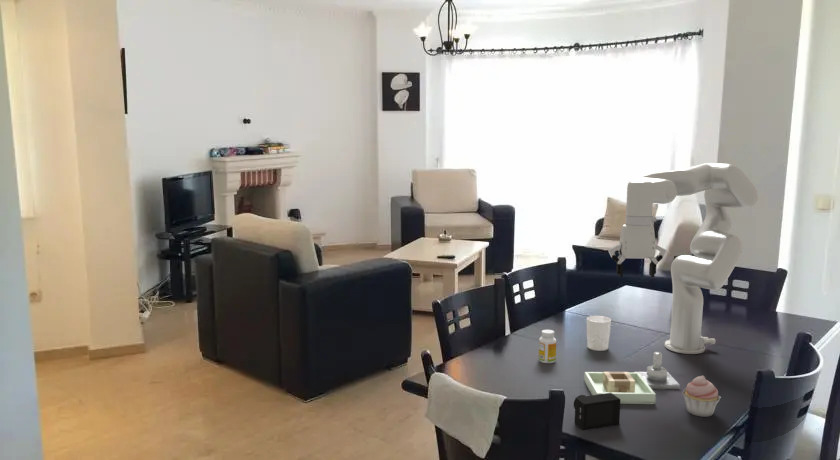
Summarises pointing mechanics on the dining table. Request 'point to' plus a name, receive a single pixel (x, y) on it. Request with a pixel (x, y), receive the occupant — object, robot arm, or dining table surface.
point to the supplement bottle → (547, 347)
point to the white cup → (598, 332)
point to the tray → (639, 397)
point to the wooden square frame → (618, 382)
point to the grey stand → (659, 375)
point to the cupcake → (701, 397)
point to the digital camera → (597, 411)
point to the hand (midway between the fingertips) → (635, 276)
